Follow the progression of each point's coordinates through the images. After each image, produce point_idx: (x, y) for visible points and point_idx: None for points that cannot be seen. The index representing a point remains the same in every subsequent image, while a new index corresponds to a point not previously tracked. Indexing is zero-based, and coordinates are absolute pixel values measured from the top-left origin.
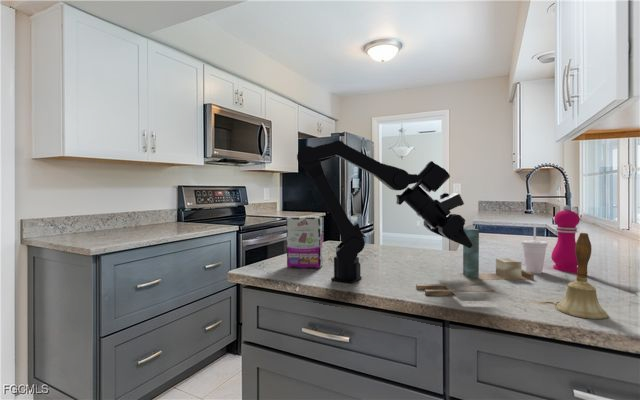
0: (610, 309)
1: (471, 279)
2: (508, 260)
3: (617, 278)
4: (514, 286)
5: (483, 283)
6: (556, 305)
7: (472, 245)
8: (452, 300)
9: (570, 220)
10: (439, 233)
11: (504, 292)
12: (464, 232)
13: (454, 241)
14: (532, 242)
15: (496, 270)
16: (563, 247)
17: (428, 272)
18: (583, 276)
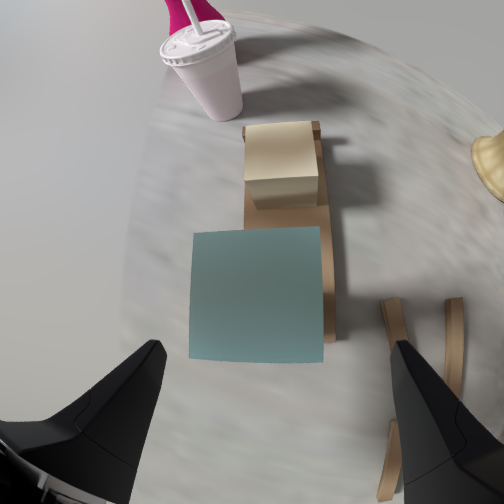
0: (469, 117)
1: (334, 328)
2: (287, 150)
3: (256, 22)
4: (359, 200)
5: (387, 303)
6: (497, 195)
7: (405, 340)
8: (478, 418)
9: None
10: (131, 473)
11: (425, 259)
12: (479, 427)
13: (163, 373)
14: (208, 39)
15: (258, 202)
16: (202, 16)
17: (181, 420)
18: None
